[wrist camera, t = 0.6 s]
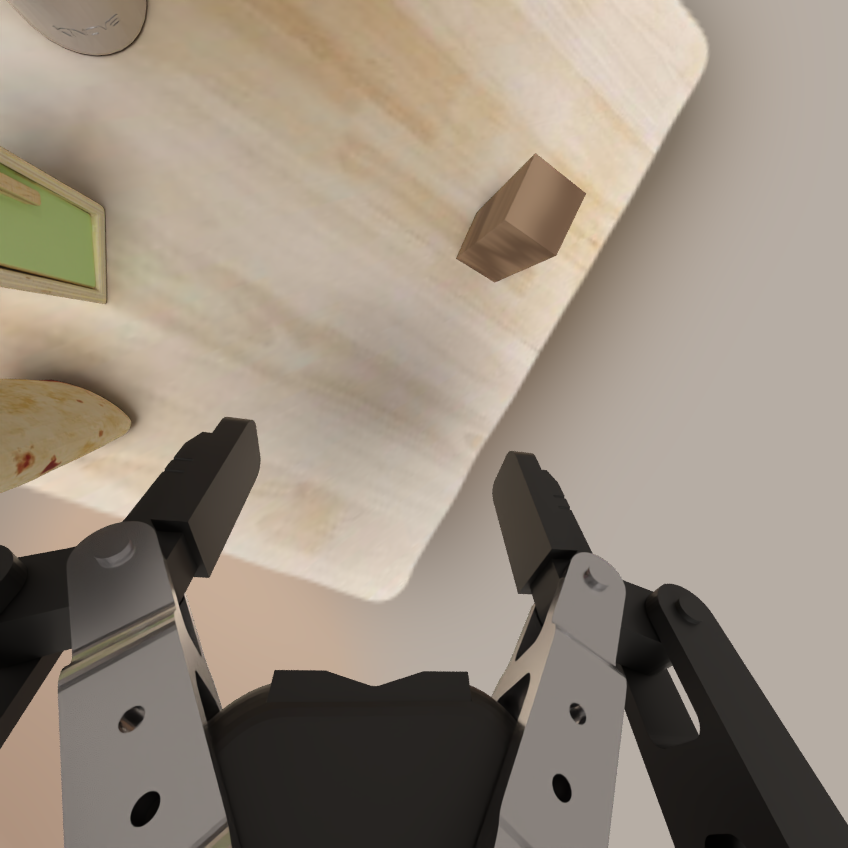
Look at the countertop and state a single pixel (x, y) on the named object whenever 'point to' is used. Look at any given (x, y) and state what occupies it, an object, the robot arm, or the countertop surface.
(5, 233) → the toy refrigerator
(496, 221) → the walnut block
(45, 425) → the food model
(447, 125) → the countertop surface
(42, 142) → the countertop surface
